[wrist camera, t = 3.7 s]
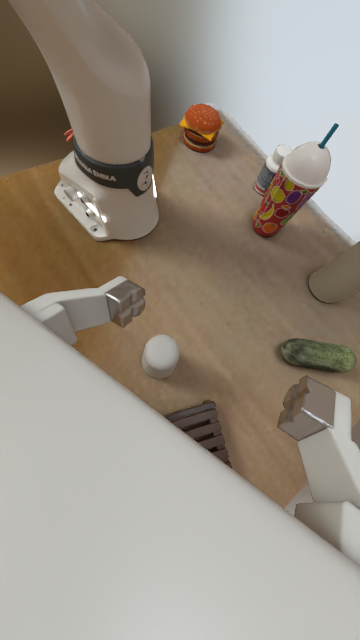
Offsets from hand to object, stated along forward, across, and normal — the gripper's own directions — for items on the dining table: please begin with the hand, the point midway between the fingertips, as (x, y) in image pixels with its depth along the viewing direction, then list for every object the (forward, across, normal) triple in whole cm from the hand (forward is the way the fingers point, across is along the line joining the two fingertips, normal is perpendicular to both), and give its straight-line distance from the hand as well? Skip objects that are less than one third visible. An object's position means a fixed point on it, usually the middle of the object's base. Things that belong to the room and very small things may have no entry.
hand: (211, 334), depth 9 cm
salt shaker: (+10, +9, +24) cm, 27 cm away
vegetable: (+28, -13, +23) cm, 39 cm away
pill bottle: (+57, +13, +4) cm, 58 cm away
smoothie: (+47, +7, +10) cm, 49 cm away
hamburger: (+57, +34, -2) cm, 67 cm away
